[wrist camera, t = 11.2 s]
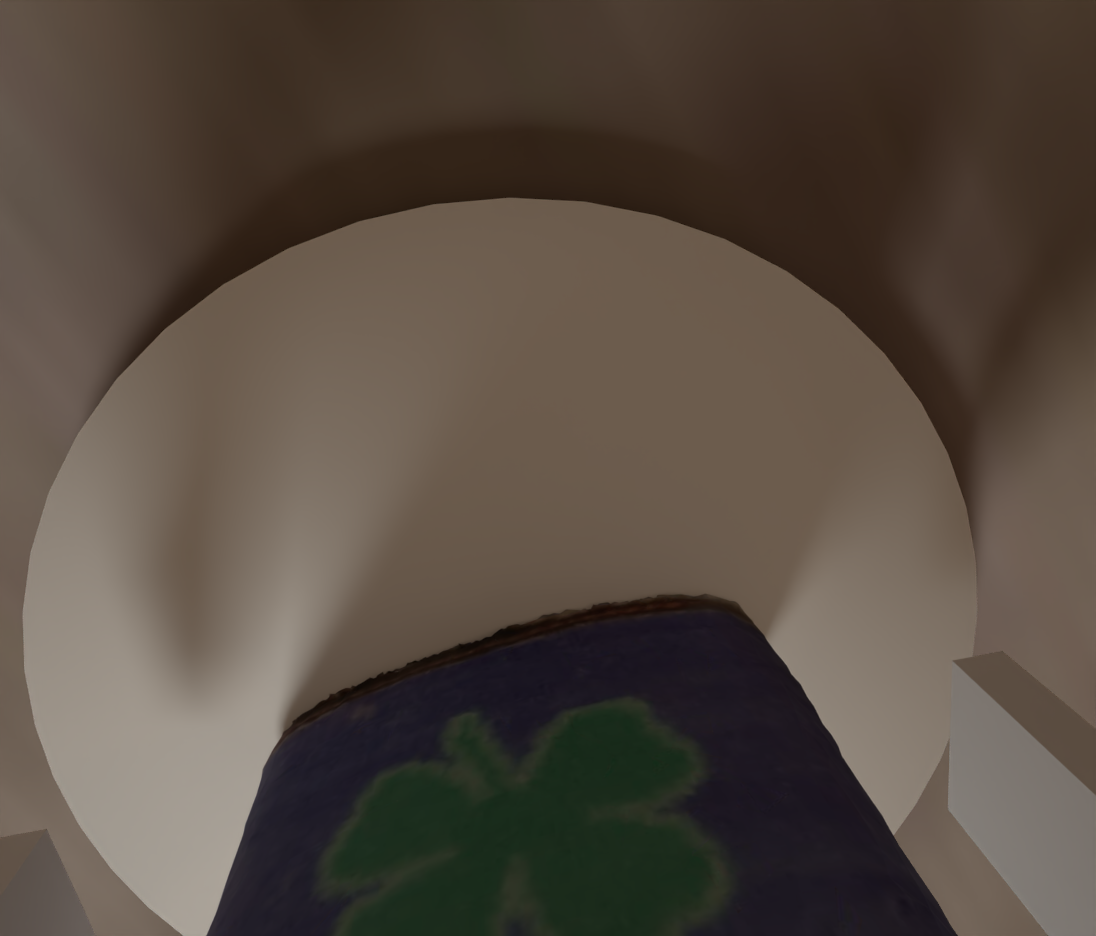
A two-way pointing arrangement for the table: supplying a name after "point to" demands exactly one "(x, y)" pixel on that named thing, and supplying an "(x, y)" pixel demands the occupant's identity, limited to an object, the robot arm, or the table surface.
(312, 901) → the blue hip flask
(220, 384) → the plate
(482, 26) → the table surface
